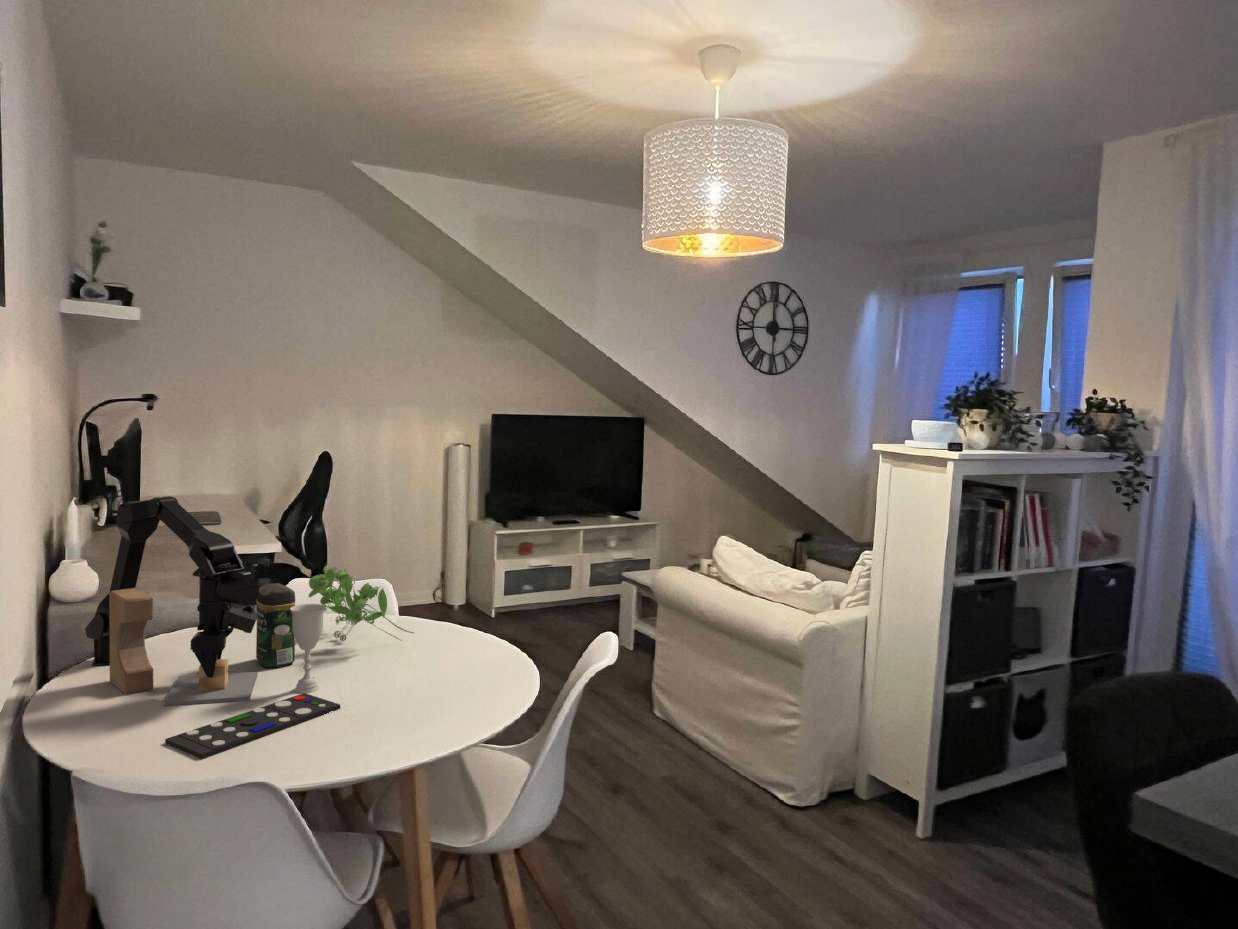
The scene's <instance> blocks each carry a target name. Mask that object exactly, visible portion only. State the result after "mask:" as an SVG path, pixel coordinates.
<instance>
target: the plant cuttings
mask: <svg viewBox="0 0 1238 929" xmlns="http://www.w3.org/2000/svg"><path fill="white" fill-rule="evenodd" d="M337 568H338V567H336V566H332V567H330V568H329V569H328V565H324V567H323V569H322V571H323V573H324V574H321V573H320V574H317V575H314V576H312V577H310V579H309V580H308V586H309V588H310V589H311V591H310V592H309V594H308V598H312V597H314V596H316V595H317V594H320V595H321V596H322V597H321V598H320V601H319V602H320V605H324V606H326V608H325V610H324V612H326V611H327V609H330V610H331V611H333V612H335V613H337V614H338V616H336V617H335V618H336V619H335V625H339V624H340V622H346V623H345V625H344V626H343V627H342V629H341V630H335V631H334V633H333V637H334V638H335V639H336V642H337V643H339V644H341V643H343V642H345V641H346V640H347V636H348V635H349V633H350V632H351V631H352V629H353V628H354V626H356V625H357V624H358V623H360V622H361V621H363V622H365V623H367V624H369V625H372V626H374V627H375V628H377V629H379V630H380V631H382V632H384V633H386V634H388V635H390V636H391V637H393V638H395V639H398V640H399V641H401V642H403V640H402V639H401V638H398V637H396V636H395V635H392V634H391V633H389V632H387V631H385V630H383V629H381V628H380V627H378V626H377V625H375V624H374V623H375V620H377V619H379V618H381V617H382V618H384V619H385V620H386V621H388V622H389V623H391V624H392V625H393V626H394V627H396V628H397V629H399V630H400V631H402V632H403V631H404V632H407V633H410V634H415V632H414V631H409V630H406V629H404V628H402V627H400V626H398V625H397V624H395V623H394V622H392V621H391V620H390V619H388V617H385V616H386V614H387V609H388V599H387V594H386V593H385V590H384V587H382V585H381V586H374V587H373V586H372V585H371V584H369V582H367V583H365V584H363V586H362V587H361V588H360V589H358V590H356V591H355V588H354V585H355V584H356V581H357V580H358V579H357V576H356V575H353V576H351V575H350V574H349V572H347V569H339V570H338V569H337ZM336 570H338V571H336ZM352 578H353V579H354V581H353V579H352ZM335 579H336V582H337V584H339V586H338V588H336V587H335V586H334V585H333V583H334V580H335ZM381 587H382V588H381ZM380 588H381V589H380ZM379 589H380V590H379ZM352 590H353V595H351V592H352ZM356 592H358V594H359V595H358V594H356ZM375 597H377V600H378V601H377V602H378V607H379V609H380V611H378V610H376V609H375V608H374V607H373V606H372V605H370V604H369V603H367V602H368V600H371V599H373V598H375ZM342 602H343V603H342ZM333 604H334V605H333ZM366 606H368V607H369V608H371V609H372V610H370V609H368V608H367V609H366V608H365V607H366ZM362 613H364V614H362ZM340 615H342V616H340ZM348 625H350V628H349V629H348V631H347V632H346V633H344V631H345V629H346V628H347V627H348ZM338 640H339V641H338Z"/></svg>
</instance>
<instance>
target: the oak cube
mask: <svg viewBox="0 0 1238 929" xmlns="http://www.w3.org/2000/svg"><path fill="white" fill-rule="evenodd" d="M228 673H229V658H221V659H217V661H216V666H215V671H214V676H213V677H211V678H208V677H207V676H206V674H205V672H204V670H203V668H202V666H201V664H200V665H199V666H198V675H199V691H202V690H220V689H225V687H226V685H227V682H228Z"/></svg>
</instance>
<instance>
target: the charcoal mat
mask: <svg viewBox="0 0 1238 929" xmlns="http://www.w3.org/2000/svg"><path fill="white" fill-rule="evenodd" d="M257 675H258V671H253V672H252V671H249V672H232V673H230V672H228V682H227V685H226V687H225V689H220V690H202V691H199V674H194V675H193V674H191V675H189V674H188V675H178V677H177V679H176V681H175V682H174V684H173V685H172V688H170V691H169V692H168V694H167V696H166V697H165V700H164V701H163V706H166V707H167V706H179V705H180V706H182V705H195V704H196V705H197V704H214V703H229V702H243V701H244V702H245V701H247V702H248V701H250V700H251V697H252V695H253V691H254V688H255V684H256V682H257V678H258V676H257ZM255 681H256V682H255Z"/></svg>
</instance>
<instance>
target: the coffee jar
mask: <svg viewBox="0 0 1238 929" xmlns="http://www.w3.org/2000/svg"><path fill="white" fill-rule="evenodd" d="M255 601H256V613H257V615H258V617H257V620H256V640H255V641H256V646H255V647H256V650H255V653H256V654H255V658H256V661H257V662H258V663H259V664H260V665H261V666H263V667H265V668H282V667H285V666H287V665H290V664H293V663H294V662H295V660H296V654H295V651H296V649H295V648H296V647H295V646H296V645H295V642H296V639H295V637H294V634H293V631H292V630H293V614H292V612H291V610H290V608H291V607H293V606H296V592H295V591H294V589H292V588H290V587H289V586H286V585H283V584H281V583H280V582H277V583H276V582H275V583H266V584H262V585H261V586H260V587H259V594H258V597H257V599H256V600H255Z"/></svg>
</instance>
